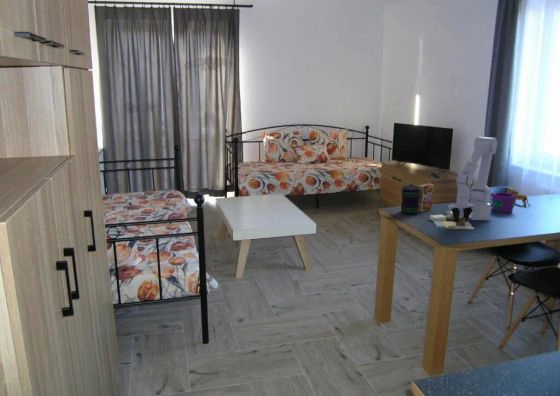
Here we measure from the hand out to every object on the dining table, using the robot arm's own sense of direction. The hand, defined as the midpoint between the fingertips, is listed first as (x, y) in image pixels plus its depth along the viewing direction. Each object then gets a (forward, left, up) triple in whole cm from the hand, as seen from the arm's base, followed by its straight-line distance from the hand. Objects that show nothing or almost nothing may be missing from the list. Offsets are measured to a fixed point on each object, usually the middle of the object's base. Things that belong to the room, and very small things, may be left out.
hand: (460, 221), depth 243 cm
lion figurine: (-44, -47, -2) cm, 64 cm away
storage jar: (+23, -21, -2) cm, 31 cm away
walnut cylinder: (0, 0, -2) cm, 2 cm away
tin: (+2, -14, -2) cm, 14 cm away
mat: (+4, 0, -2) cm, 4 cm away
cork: (0, -8, -2) cm, 8 cm away
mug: (-28, -32, -2) cm, 43 cm away
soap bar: (+9, -9, -2) cm, 13 cm away
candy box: (+14, -28, -2) cm, 31 cm away
